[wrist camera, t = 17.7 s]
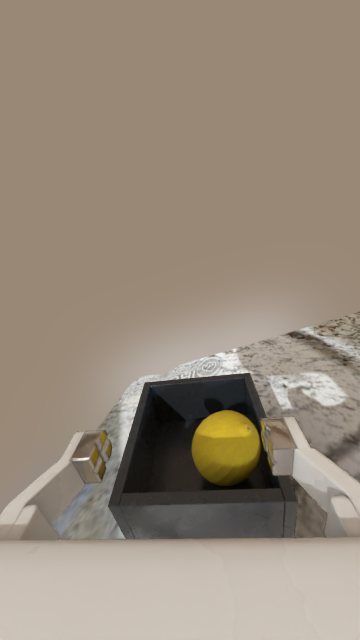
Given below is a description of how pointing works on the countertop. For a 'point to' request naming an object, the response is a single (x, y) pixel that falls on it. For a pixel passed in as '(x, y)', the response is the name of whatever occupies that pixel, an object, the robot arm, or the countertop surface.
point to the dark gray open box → (195, 469)
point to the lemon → (226, 448)
